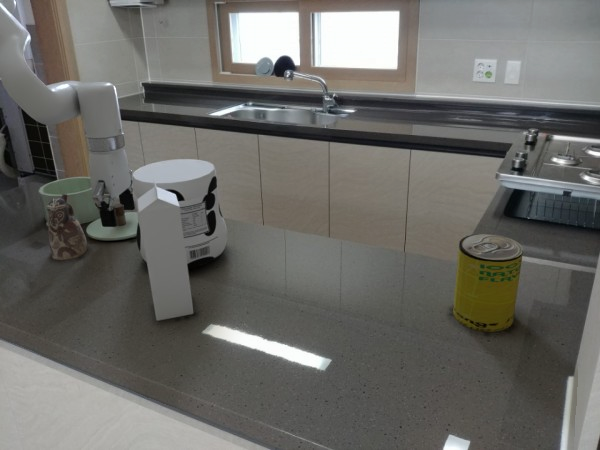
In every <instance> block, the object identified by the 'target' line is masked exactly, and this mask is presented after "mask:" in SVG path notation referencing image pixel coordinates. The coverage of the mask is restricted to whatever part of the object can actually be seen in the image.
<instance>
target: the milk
mask: <svg viewBox="0 0 600 450" xmlns="http://www.w3.org/2000/svg"><path fill="white" fill-rule="evenodd" d="M154 184H155V187H154V188H152V189H151V190H149V191H148V192H147V193H145V194H144V195H143V196H141V197H140V198H138V199H137V201H138V211H139V218H140V224H141V230H142V236H143V242H144V248H145V254H146V260H147V262H146V266H147V272H148V278H149V285H150V290H151V296H152V303H153V309H154V314H155V321H156V322H159V321H165V320H169V319H174V318H180V317H185V316H190V315H194V305H193V299H192V298H193V297H192V290H191V283H190V274H189V269H188V267H187V259H186V251H185V244H184V236H183V228H182V221H181V213H180V206H179V203H178V200H177V197H176V194H174V193H171V192H169V191H166V190H163V189H161V188H158V187H156V183H155V179H154Z"/></svg>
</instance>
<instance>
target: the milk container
mask: <svg viewBox="0 0 600 450" xmlns="http://www.w3.org/2000/svg"><path fill="white" fill-rule="evenodd" d="M217 176H218V175H217V172H216V167H215V165H214V164H213V163H211V162H210V161H206V160H203V159H193V158H176V159H168V160H161V161H157V162H152V163H148V164H146V165H143V166H140V167H139V168H137V169H136V170H134V171H133V172H132V182H133V183H132V188H133V199H134V204H135V209H136V212H137V214H138V226H137V235H136V236H135V238H136V245H137V248H138V251H139V254H140V256H141V258H142V259H143V260H144V262H146V263H147V260H146V254H145V248H144V242H143V236H142V230H141V224H140V218H139V211H138V201H137V199H138V198H140V197H141V196H143V195H144V194H145V193H147V192H148V191H149V190H151V189H152V188H154V187H155V184H154V179H155V183H156V187H158V188H161V189H163V190H166V191H169V192H171V193H174V194H176V197H177V200H178V203H179V206H180V213H181V221H182V228H183V236H184V244H185V251H186V259H187V267H188V270H189V269H194V268H195V269H196V268H198V267H202V266H204V265H207V264H209V263H211V262H212V261H214V260H216V259H217V258H219V257H220V256H221V255H222V254H223V253H224V251H225V249H226V246H227V242H228V241H227V240H228V228H227V224H226V221H225V219H224V216H223V213H222V211H221V205H220V196H219V195H220V193H219V187H218V186H219V185H218V177H217Z"/></svg>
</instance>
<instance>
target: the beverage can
mask: <svg viewBox="0 0 600 450" xmlns="http://www.w3.org/2000/svg"><path fill="white" fill-rule="evenodd" d="M457 253H458V254H457V263H456V265H457V266H456V275H455V285H454V298H453V307H452V308H453V309H452V315H453V317H454V318H455V320H456V321H457V322H458V323H459V324H461V325H463V326H465V327H467V328H469V329H472V330H475V331H478V332H479V331H480V332H493V333H495V332H499V331H503V330H506V329H508V328H509V327H511V326H512V324H513V322H514V317H515V311H516V303H517V297H518V289H519V281H520V275H521V268H522V262H523V256H524V255H523V254H524V247H523V246H522V244H520V243H519V242H517V240H514V239H512V238H510V237H506V236H503V235H498V234H491V233H475V234H471V235H466V236H465V237H463V238H461V239H460V241H459V243H458V252H457Z"/></svg>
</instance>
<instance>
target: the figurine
mask: <svg viewBox="0 0 600 450" xmlns="http://www.w3.org/2000/svg"><path fill="white" fill-rule="evenodd" d="M67 197H68V195H67V194H63V195H62V197H61V198H54V199H52V200H51V201H50V203H49V204H48V206H47V207H46V209H47V210H48V216H49V222H48V223H47V222H46V223H45V225H46V226H47V227H48V237H49V238H48V239H49V242H48V243H49V245H48V246H49V251H50V253H51V257H52V259H53V260H58V261H63V260H72V259H76V258H79V257H81V256H83V255H84V254H85V253H86V252H87V250H88V241H87V238H86V235H85V232H84V230H83V227H82V224H80V223H79V222H78V220H77V219H76V218H74V211H73V208H72V206H71V205H70V204H68V203H67Z"/></svg>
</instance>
